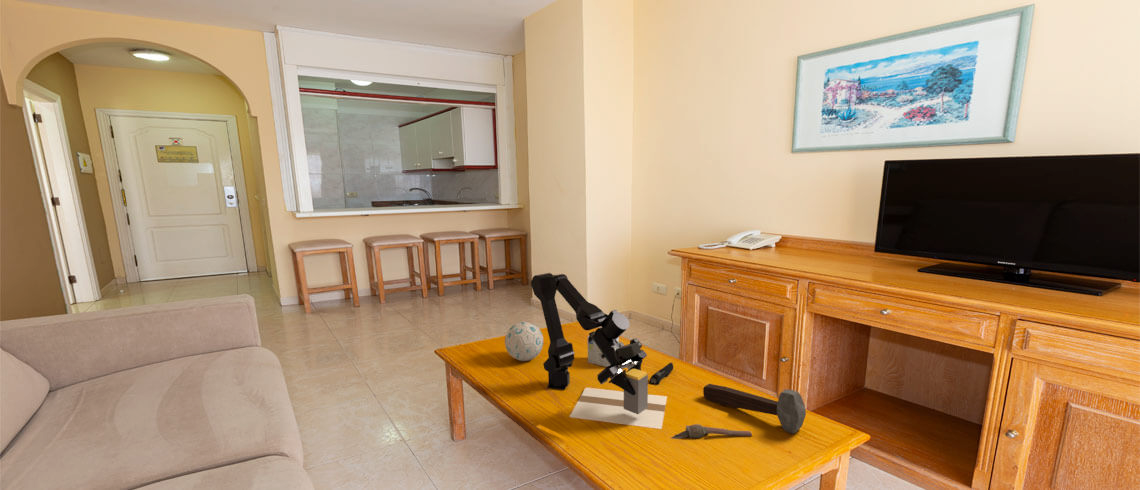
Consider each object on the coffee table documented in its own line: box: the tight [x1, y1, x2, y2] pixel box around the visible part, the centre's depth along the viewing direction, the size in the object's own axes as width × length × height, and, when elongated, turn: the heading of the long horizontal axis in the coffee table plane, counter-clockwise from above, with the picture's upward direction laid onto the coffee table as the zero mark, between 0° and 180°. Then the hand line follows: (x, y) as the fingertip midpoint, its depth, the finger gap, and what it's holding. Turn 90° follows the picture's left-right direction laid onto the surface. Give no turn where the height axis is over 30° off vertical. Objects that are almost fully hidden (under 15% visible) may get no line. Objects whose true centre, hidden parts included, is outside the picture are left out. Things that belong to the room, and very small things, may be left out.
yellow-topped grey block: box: [623, 368, 649, 414], centre depth 135 cm, size 5×5×11 cm
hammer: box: [702, 383, 807, 435], centre depth 138 cm, size 5×11×30 cm
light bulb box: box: [587, 335, 620, 368], centre depth 178 cm, size 11×7×11 cm, turn 58°
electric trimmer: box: [648, 362, 674, 386], centre depth 165 cm, size 4×16×3 cm, turn 144°
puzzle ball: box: [504, 321, 544, 362], centre depth 183 cm, size 15×15×15 cm
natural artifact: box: [670, 423, 753, 440], centre depth 126 cm, size 4×23×4 cm
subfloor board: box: [568, 387, 668, 430], centre depth 143 cm, size 27×20×1 cm
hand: (639, 391), depth 134 cm, fingers closed on yellow-topped grey block, 5 cm apart
